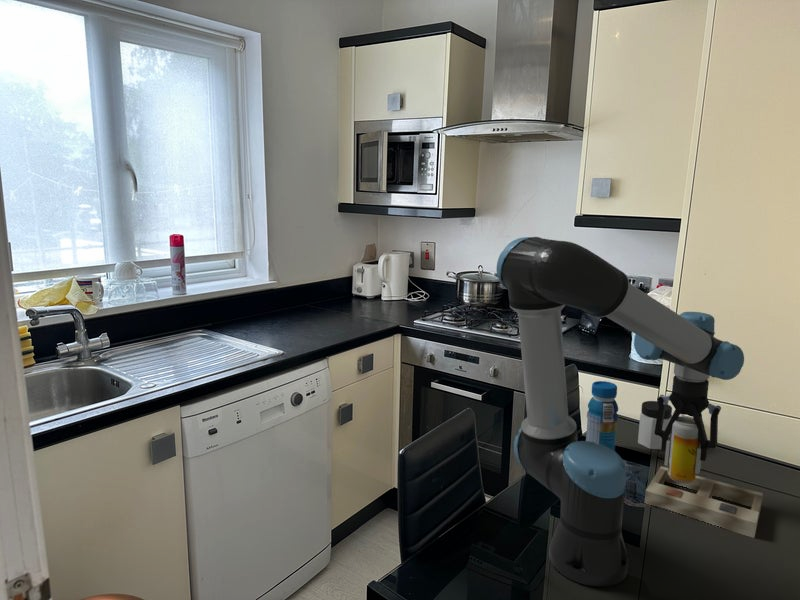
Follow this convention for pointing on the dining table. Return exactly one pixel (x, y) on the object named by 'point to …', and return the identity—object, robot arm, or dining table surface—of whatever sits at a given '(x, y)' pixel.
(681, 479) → the beer can
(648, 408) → the jar
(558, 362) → the robot arm
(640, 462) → the dining table surface
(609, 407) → the beverage bottle
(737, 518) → the socket board
